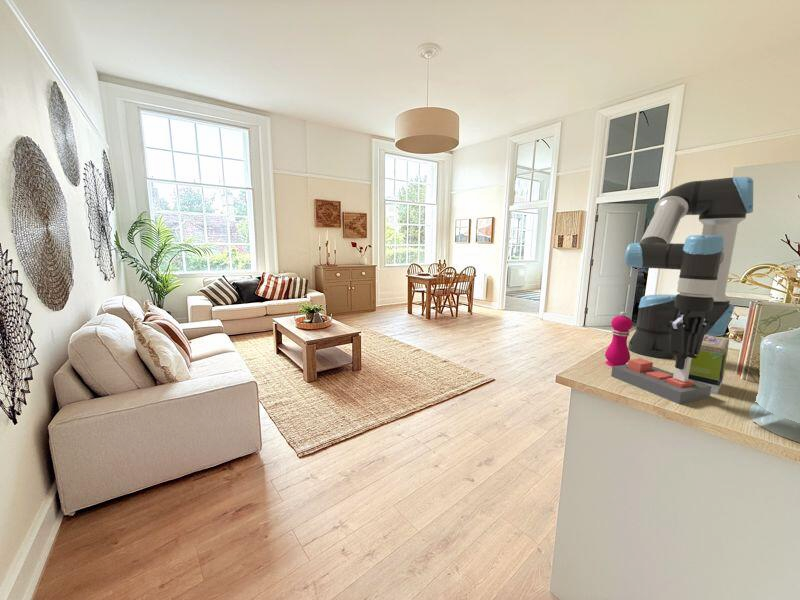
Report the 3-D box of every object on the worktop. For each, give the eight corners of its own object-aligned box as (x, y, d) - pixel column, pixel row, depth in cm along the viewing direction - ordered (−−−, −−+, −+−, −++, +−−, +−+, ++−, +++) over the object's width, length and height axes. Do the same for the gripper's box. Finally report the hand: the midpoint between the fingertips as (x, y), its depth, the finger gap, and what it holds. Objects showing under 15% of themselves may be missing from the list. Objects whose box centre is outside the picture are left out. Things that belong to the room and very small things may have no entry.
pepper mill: (632, 373, 109) (640, 314, 106) (608, 371, 111) (616, 313, 108) (622, 365, 116) (630, 310, 113) (600, 363, 118) (607, 308, 114)
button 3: (676, 388, 94) (678, 376, 93) (692, 394, 90) (694, 381, 90) (664, 391, 92) (666, 378, 92) (679, 397, 89) (681, 384, 88)
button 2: (656, 382, 99) (657, 370, 98) (669, 387, 96) (671, 375, 95) (644, 384, 97) (645, 372, 97) (657, 389, 94) (659, 377, 93)
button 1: (638, 369, 104) (640, 358, 103) (651, 373, 100) (653, 362, 100) (626, 371, 102) (628, 359, 102) (639, 375, 99) (641, 364, 98)
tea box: (680, 374, 109) (688, 331, 107) (722, 384, 102) (731, 338, 99) (671, 386, 99) (679, 339, 97) (716, 398, 92) (726, 348, 89)
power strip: (619, 368, 114) (621, 355, 113) (708, 401, 90) (711, 386, 89) (592, 372, 109) (594, 359, 109) (678, 408, 86) (680, 392, 85)
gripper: (694, 292, 92) (680, 372, 96) (662, 293, 88) (649, 377, 92) (727, 296, 85) (711, 382, 89) (695, 297, 81) (679, 388, 85)
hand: (680, 379), depth 91 cm, fingers closed
